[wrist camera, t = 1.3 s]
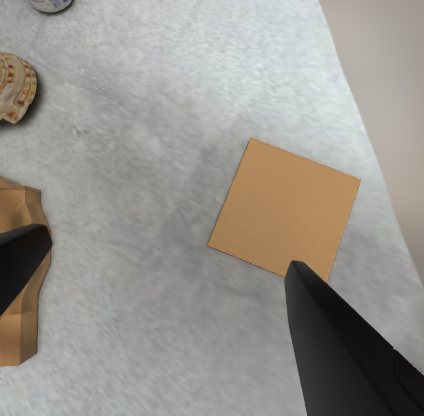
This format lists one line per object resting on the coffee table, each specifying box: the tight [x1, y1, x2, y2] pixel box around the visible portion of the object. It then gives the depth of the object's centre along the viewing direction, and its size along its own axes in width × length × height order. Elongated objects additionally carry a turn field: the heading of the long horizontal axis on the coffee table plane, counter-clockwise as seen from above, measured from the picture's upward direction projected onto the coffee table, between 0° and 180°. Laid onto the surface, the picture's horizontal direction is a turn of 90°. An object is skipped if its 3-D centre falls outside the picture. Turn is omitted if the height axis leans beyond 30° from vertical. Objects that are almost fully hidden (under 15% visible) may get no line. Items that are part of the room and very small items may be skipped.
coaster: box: [208, 138, 361, 283], centre depth 23 cm, size 12×12×1 cm
